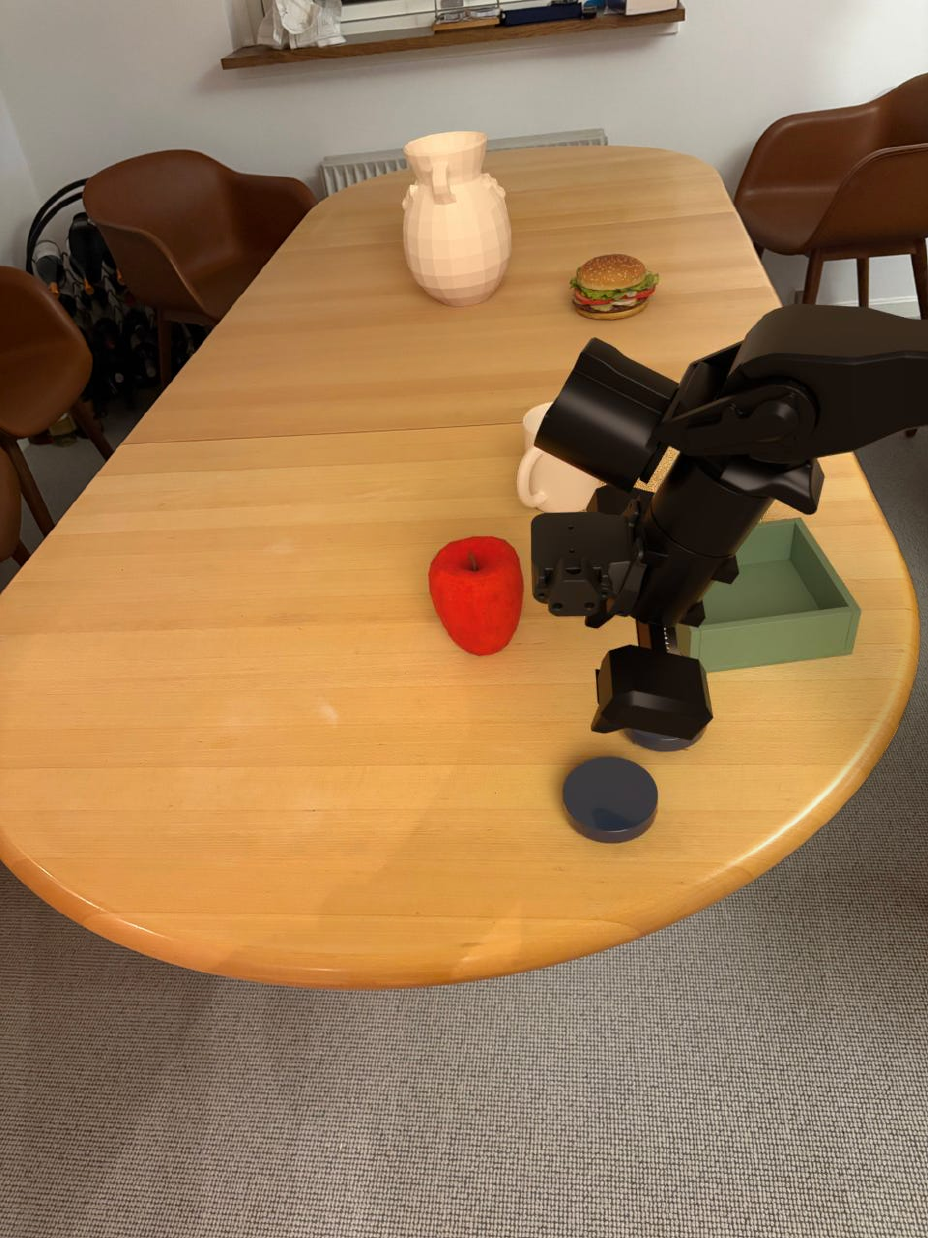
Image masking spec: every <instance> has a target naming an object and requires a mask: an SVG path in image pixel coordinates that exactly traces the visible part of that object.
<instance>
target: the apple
mask: <svg viewBox="0 0 928 1238" xmlns="http://www.w3.org/2000/svg"><path fill="white" fill-rule="evenodd" d="M427 575H428V591H429V594H430V598H431V601H432V604H433V607H434V610H435V613H436V615H437V616H438V619H439V621H440V623H441V624H442V626H443V627H444V629H445V631H446V633H447V634H448V636H449V637H450V639H451V640H452V641H453V642H454V643H455V644H456V645H457V646H458V647H459V648H461V649H462V650H464V651H465V652H466V653H468V654H471V655H473V656H477V657H484V656H492V655H494V654H496V653H498V652H500V651H502V650H503V649H504V648H506V646H508V645H509V644H510V642H511V640H512V639H513V637H514V636H515V633H516V632H517V630H518V626H519V622H520V619H521V614H522V609H523V600H524V590H525V583H524V576H523V571H522V566H521V561H520V556H519V555H518V552H517V550H516V548H515V547H514V546H513V545H512V544H511V543H509V542H508V541H507V540H506V539H503V538H500V537H497V536H494V535H472V536H469V537H465V538H460V539H458V540H451V541H450V542H448V543H447V544H446V545H445V546H443V547H442V548H441V549H439V550H438V552H437V553H436V555H434V558H433V559H432V560H431V562H430V565H429V569H428V574H427Z"/></svg>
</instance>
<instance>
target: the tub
mask: <svg viewBox="0 0 928 1238" xmlns="http://www.w3.org/2000/svg"><path fill="white" fill-rule="evenodd" d="M736 559H737V564H738V568H739V575H738V576H737V577H736V579H735V580H734V581H733V583H732V584H731V585H730V584H726V583H722V582H718V581H715V582H714V583H713V585H712V586H711V587H710V589H709V590H708V591H707V593H706V594H705V596H704V597H703V598H702V599H703V605H704V611H705V616H706V618H705V619H704V621H703V622H702V623H701V625H700V626H699V627H698V628H696V627H692V626H688V625H683V624H679V623H678V624H677V626H676V631H677V638H678V645H679V652H680V655H681V656H686V657H691V658H695V659H699V661H700V662H701V664H702V666H703V667H704V669H705V671H706V674H709V673H717V672H718V673H719V672H725V671H731V670H733V671H734V670H740V669H747V668H756V667H763V666H771V665H779V664H785V663H787V664H788V663H793V662H802V661H809V660H816V659H817V660H818V659H825V658H833V657H841V656H849V655H852V654H853V651H854V647H855V642H856V637H857V633H858V630H859V625H860V620H861V616H862V609H861V607H860V606H859V604H858V603H857V601H856V599H855V598H854V596H853V595H852V594H851V592H850V590H849V589H848V587H847V586H846V584H845V583H844V581H843V579H842V578H841V576H840V575H839V573H838V572H837V571H836V569H835V568H834V566H833V564H832V563H831V561H830V559H829V558H828V557H827V555H826V553H825V552H824V550H823V549H822V548H821V546H820V544H819V543H818V541H817V540H816V538H815V537H814V536H813V534H812V532H811V531H810V529H809V528H808V525H806V523H805V521H804V520H803V518H802V517H800V516H797V517H793V518H792V517H791V518H784V519H777V520H769V521H761V522H758V524H757V525H756V526H755V528H754V529H753V530H752V532H751V533H750V535H749V536H748V537H747V539H746V540H745V541H744V543H743V544H742V545H741V547H740V548H739V549H738V551H737V552H736Z"/></svg>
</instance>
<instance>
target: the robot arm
mask: <svg viewBox="0 0 928 1238" xmlns="http://www.w3.org/2000/svg"><path fill="white" fill-rule="evenodd" d="M575 361H576V362H575V364H574V365H573V368H572V370H571V371H570V374H569V375H568V377H567V379H566V381H565V382H564V383H563V386H562V387H561V390H560V391H559V394H558V395H557V396H556V398H555V399H554V402H553V401H552V402H553V403H552V405H551V406H550V408H549V409H548V410H547V412H546V413H545V415H544V417H543V420H542V422H541V424H540V427H539V429H538V432H537V434H536V437H535V440H534V446H535V447H536V448H538V449H540V450H542V451H544V452H546V453H548V454H550V455H552V456H554V457H556V458H558V459H560V460H561V461H563V462H565V463H567V464H569V465H571V466H573V467H575V468H577V469H579V470H581V471H583V472H584V473H586V474H588V475H590V476H592V477H594V478H596V479H598V480H600V482H602V483H604V485H602V486H600V487H599V488H596V490H595V492H594V493H593V495H592V497H591V499H590V501H589V503H588V505H587V507H586V509H585V511H581V512H557V513H546V512H543V513H542V512H541V513H539V514H536V516H534V517H533V518H532V520H531V521H530V574H531V575H530V577H531V595H532V597H533V599H534V600H535V601H536V602H538V603H540V604H542V605H547V611H548V613H550V615H553V616H554V617H557V618H558V617H559V618H560V617H561V618H564V617H565V618H566V617H567V618H568V617H569V618H570V617H584V626H585V627H587V628H591V629H596V630H598V629H600V628H601V627H602V626H603V625H605V624H606V623H608V622H609V621H610V620H612V619H613V618H614V617H615V616H618V617H622V618H627V617H631V618H632V619H633V620H634V621H635V632H636V639H637V645H636V644H631V643H628V644H626V645H622V646H619V647H616V648H613V649H609V650H607V653H606V654H605V655H604V657H603V658H602V660H601V663H600V668H595V670H594V672H595V685H596V702H597V704H598V706H597V709H596V711H595V713H594V715H593V717H592V721H591V724H590V731H591V732H592V733H598V734H603V735H606V734H610V733H613V732H617V731H621V730H622V729H625V728H630V729H635V730H640V731H645V732H650V733H655V734H660V735H665V736H670V737H675V738H680V739H685V740H690V741H691V740H693V739H694V738H695V737H696V736H697V735H699V733H700V732H701V731H702V730H703V729H704V728H705V727H706V726H707V727H708V724H709V723H710V722H711V721H712V720H713V719H714V713H713V708H712V706H713V705H712V701H711V695H710V688H709V685H708V684H709V683H708V676H707V673H706V671H705V669H704V667H703V666H702V664H701V662H700V661H699V659H695V658H691V657H686V656H681V654H680V651H679V645H678V638H677V631H676V626H677V624H678V623H679V624H683V625H688V626H692V627H696V628H698V627H699V626H700V625H701V623H702V622H703V621H704V619H705V618H706V616H705V611H704V605H703V599H702V598H703V597H704V596H705V594H706V593H707V591H708V590H709V589H710V587H711V586H712V585H713V583H714V582H715V581H718V582H722V583H726V584H730V585H731V584H732V583H733V581H734V580H735V579H736V577H737V576H738V575H739V568H738V564H737V559H736V552H737V551H738V549H739V548H740V547H741V545H742V544H743V543H744V541H745V540H746V539H747V537H748V536H749V535H750V533H751V532H752V530H753V529H754V528H755V526H756V525H757V524H758V523H760V521H761V520H762V519H763V517H764V516H765V514H766V513H767V512H768V510H769V508H770V507H771V506H772V504H773V503H774V502H775V500H776V501H778V502H780V503H782V504H784V505H786V506H788V507H790V508H792V509H794V510H795V511H798V512H799V513H801V514H804V515H805V516H812V515H814V514H815V513H817V511H818V508H819V503H820V499H821V495H822V492H823V486H824V482H825V479H826V476H825V473H824V471H823V469H822V467H821V464H820V462H819V460H818V459H821V458H826V457H832V456H837V455H842V454H849V453H853V452H857V451H859V450H862V449H864V448H866V447H869V446H872V445H874V444H876V443H879V442H880V441H883V440H886V439H888V438H890V437H893V436H895V435H897V434H899V433H902V432H906V431H911V430H916V429H921V428H927V427H928V319H923V318H922V319H921V318H920V319H919V318H908V317H905V316H902V315H897V314H894V313H891V312H886V311H882V310H879V309H875V308H872V307H867V306H856V305H833V304H815V303H793V304H789V305H785V306H781V307H778V308H774V309H772V310H770V311H769V312H766V313H764V315H762V317H761V318H760V319H758V320H757V322H756V323H755V324H754V325H753V326H752V327H751V328H750V329H749V331H748V332H746V334H745V336H744V339H742V340H740V341H737V342H735V343H733V344H731V345H728V346H726V347H724V348H721V349H719V350H717V351H714V352H712V353H709V354H708V355H706V356H703V357H701V358H698V359H696V360H693V361H691V362H690V363H689V364H688V366H687V368H686V369H685V371H684V373H683V376H682V377H681V380H680V381H679V382H678V381H676V380H674V379H671V378H669V377H668V376H665V375H663V374H661V373H660V372H657V371H656V370H653V369H652V368H650V367H648V366H646V365H644V364H643V363H640V362H639V361H636V360H634V359H632V358H630V357H628V356H626V355H625V354H623V353H622V352H621V351H620V350H619V349H618V348H616V347H615V346H614V345H612V344H610V343H608V342H607V341H604V340H602V339H600V338H598V337H596V336H595V337H591V338H590V339H589V340H588V341H587V343H586V345H585V346H584V347H583V349H581V351H580V352H579V354H578V356H577V359H576V360H575ZM669 448H672V449H673V450H676V451H678V454H677V455H676V456H675V459H674V461H673V462H672V464H671V466H670V468H669V469H668V471H667V472H666V474H665V476H664V477H663V479H662V481H661V483H660V484H659V486H658V488H657V489H656V490H655V491H650V490H647V489H643V488H639V487H635V486H636V484H637V482H638V481H640V482H642V483H643V484H645V485H648V484H649V482H650V481H651V479H652V478H653V476H654V474H655V472H656V470H657V469H658V467H659V465H660V464H661V462H662V460H663V459H664V457H665V454H666V453H667V451H668V449H669Z"/></svg>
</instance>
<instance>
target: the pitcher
mask: <svg viewBox="0 0 928 1238" xmlns="http://www.w3.org/2000/svg"><path fill="white" fill-rule="evenodd" d="M488 138H489V137H488V135H486V134H485V133H484V132H480V131H448V132H441V133H434V134H429V135H426V136H423V137H419V138H417V139H414V140H411V141H408V143H407V144H406V145H404V147H403V149H402V150H403V153H404V157H405V160H406V162H407V165H408V166H409V168H410V169H411V171H412V172H413V174H414V175H415V176H414V177H416V178H415V180H414V181H415V182H414V184H409V186H408V188H407V190H406V193H405V197H404V198H403V200H402V202H401V206H402V209H403V210H404V216H403V224H402V226H403V227H402V233H403V236H402V237H403V249H404V255H405V260H406V261H405V262H406V265H407V267H408V269H409V272H410V273H411V275H412V277H413V280H414V281H415V282H416V283H417V284H418V285H419V286H420V287H421V288H422V289H423V290H424V291H425V292H426V293H427V294H428V295H429V296H431V297H432V298H434V299H436V300H437V301H439V302H440V303H442V304H443V305H446V306H450V307H470V306H475V305H478V304H481V303H483V302H486V301H487V300H488V299H490V298H491V297H492V295H493V294H494V292H495V291H496V289H497V288H498V287H499V284H500V283H501V281H502V280H503V278H504V276H505V273H506V271H507V269H508V267H509V263H510V260H511V259H510V258H511V254H512V250H513V249H512V248H513V247H512V246H513V243H512V237H513V236H512V235H513V233H512V231H513V230H512V226H511V222H510V217H509V214H508V209H507V205H506V200H505V198H506V195H507V193H506V191H505V189H504V187H502V186H500V185H499V183H498V181H497V178H495V177H492V176H491V175H490V173H489V172H485V173H482V166H483V163H484V159H485V155H486V152H487V147H488Z"/></svg>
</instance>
